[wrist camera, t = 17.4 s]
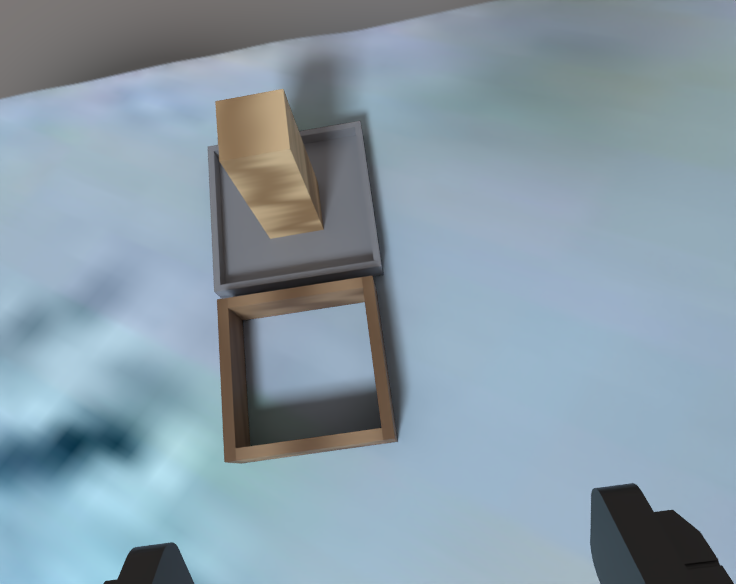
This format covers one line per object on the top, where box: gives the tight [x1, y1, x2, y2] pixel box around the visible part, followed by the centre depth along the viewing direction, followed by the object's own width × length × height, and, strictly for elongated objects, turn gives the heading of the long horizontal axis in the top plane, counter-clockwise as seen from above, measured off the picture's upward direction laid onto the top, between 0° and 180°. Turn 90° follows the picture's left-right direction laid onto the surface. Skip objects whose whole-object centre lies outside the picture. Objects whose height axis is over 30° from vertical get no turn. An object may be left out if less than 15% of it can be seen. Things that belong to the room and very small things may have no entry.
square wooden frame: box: [217, 276, 398, 463], centre depth 42 cm, size 12×12×4 cm
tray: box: [208, 121, 383, 299], centre depth 47 cm, size 13×13×2 cm
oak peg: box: [215, 89, 324, 239], centre depth 41 cm, size 4×4×12 cm
